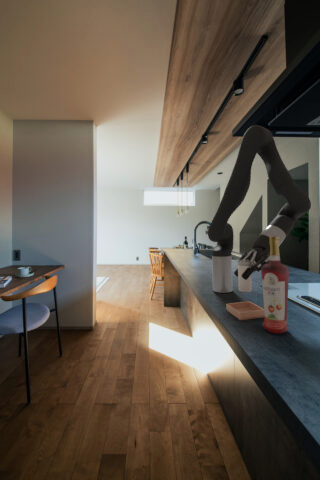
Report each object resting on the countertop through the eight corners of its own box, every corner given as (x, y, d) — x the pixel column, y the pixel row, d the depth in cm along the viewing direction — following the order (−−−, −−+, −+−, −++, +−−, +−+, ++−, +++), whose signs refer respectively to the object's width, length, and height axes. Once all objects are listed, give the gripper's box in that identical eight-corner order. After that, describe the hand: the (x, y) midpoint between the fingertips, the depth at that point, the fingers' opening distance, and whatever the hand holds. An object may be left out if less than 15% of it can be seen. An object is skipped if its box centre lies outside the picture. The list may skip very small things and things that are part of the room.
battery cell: (236, 289, 82) (235, 259, 81) (247, 288, 83) (246, 258, 82) (242, 292, 77) (241, 260, 77) (254, 291, 78) (253, 259, 78)
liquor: (293, 330, 67) (292, 236, 65) (284, 339, 62) (283, 237, 60) (267, 323, 72) (266, 236, 71) (257, 331, 67) (256, 237, 66)
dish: (226, 310, 84) (226, 303, 84) (249, 307, 86) (249, 301, 86) (240, 320, 75) (240, 313, 75) (265, 317, 77) (265, 309, 77)
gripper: (250, 233, 88) (222, 266, 86) (276, 233, 74) (243, 273, 72) (263, 246, 89) (236, 279, 87) (290, 249, 75) (259, 288, 73)
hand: (239, 276), depth 79 cm, fingers closed on battery cell, 4 cm apart
